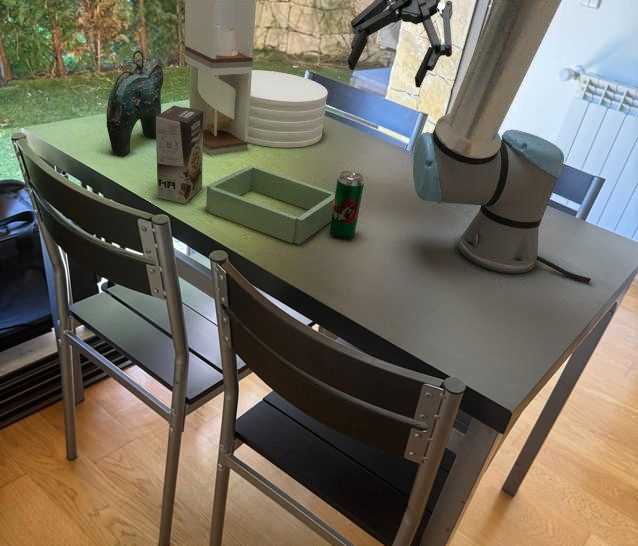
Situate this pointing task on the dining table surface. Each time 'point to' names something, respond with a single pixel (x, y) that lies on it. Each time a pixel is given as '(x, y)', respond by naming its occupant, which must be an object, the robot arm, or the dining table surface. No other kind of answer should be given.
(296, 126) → the plate stack
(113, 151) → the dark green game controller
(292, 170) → the dining table surface
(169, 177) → the coffee box
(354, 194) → the soda can
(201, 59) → the white tower
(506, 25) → the robot arm
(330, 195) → the bin
